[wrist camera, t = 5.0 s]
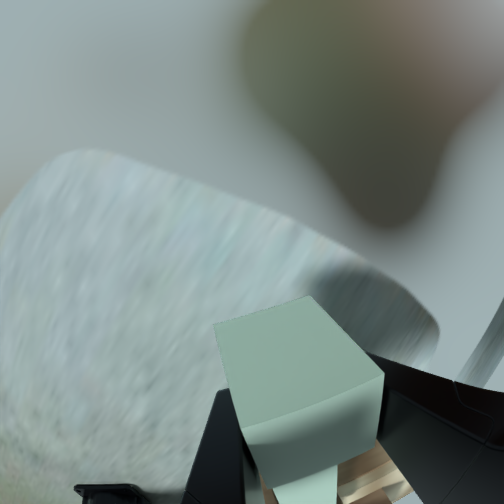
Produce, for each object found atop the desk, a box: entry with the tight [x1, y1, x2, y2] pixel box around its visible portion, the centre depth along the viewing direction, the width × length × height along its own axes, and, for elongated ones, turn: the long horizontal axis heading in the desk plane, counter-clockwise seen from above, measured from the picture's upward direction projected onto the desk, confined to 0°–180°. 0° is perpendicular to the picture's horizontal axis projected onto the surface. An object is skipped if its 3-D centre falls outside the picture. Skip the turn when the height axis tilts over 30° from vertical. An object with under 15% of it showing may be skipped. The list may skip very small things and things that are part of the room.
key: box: [213, 295, 385, 504], centre depth 10 cm, size 3×21×4 cm, turn 12°
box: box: [259, 439, 392, 504], centre depth 20 cm, size 16×14×8 cm
